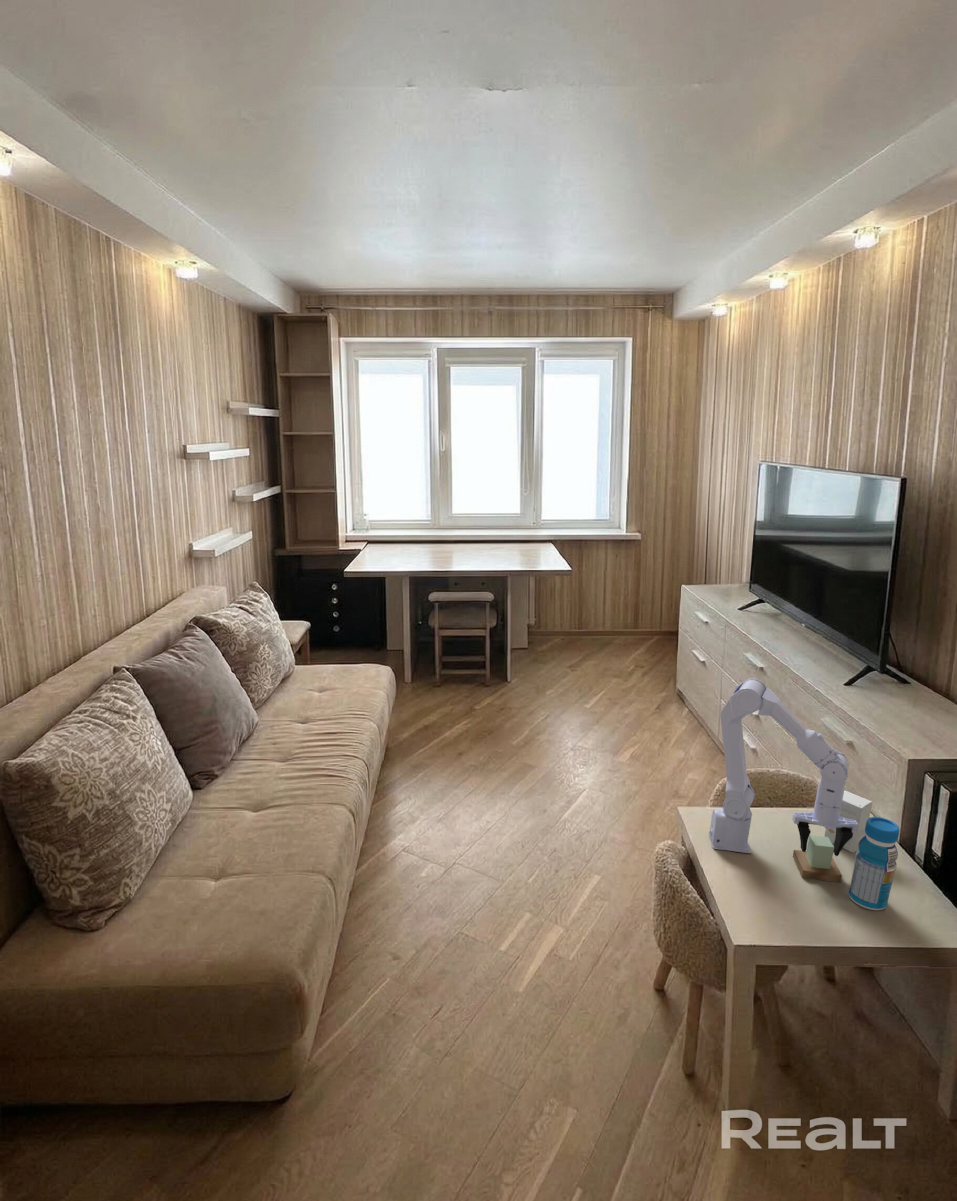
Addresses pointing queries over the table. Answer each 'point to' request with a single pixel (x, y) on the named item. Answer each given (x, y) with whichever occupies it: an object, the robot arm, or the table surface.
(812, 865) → the block
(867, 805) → the small box
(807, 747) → the robot arm
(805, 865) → the plinth
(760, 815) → the table surface
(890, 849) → the beverage bottle
